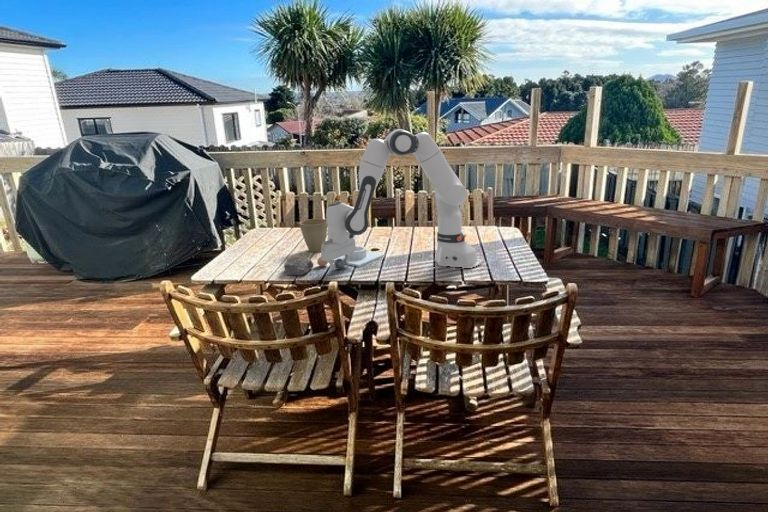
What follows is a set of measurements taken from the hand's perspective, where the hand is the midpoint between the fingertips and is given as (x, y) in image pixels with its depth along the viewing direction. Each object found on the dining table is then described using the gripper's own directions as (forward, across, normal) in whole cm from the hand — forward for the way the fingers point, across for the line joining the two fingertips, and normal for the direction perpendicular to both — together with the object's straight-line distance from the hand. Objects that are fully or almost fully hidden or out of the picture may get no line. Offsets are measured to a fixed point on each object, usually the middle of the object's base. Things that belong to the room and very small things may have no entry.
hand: (339, 265), depth 211 cm
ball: (-1, -1, +10) cm, 10 cm away
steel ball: (-1, 0, 0) cm, 1 cm away
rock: (+2, -13, +15) cm, 19 cm away
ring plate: (+2, +17, +4) cm, 18 cm away
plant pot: (+2, +17, +33) cm, 37 cm away
